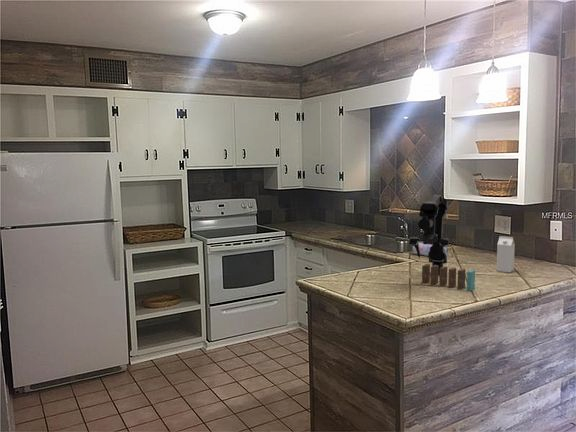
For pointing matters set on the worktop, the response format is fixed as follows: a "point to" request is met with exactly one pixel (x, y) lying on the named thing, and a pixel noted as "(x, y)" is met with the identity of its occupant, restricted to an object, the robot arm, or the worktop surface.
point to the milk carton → (505, 254)
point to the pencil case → (425, 249)
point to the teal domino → (470, 280)
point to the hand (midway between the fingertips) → (428, 257)
